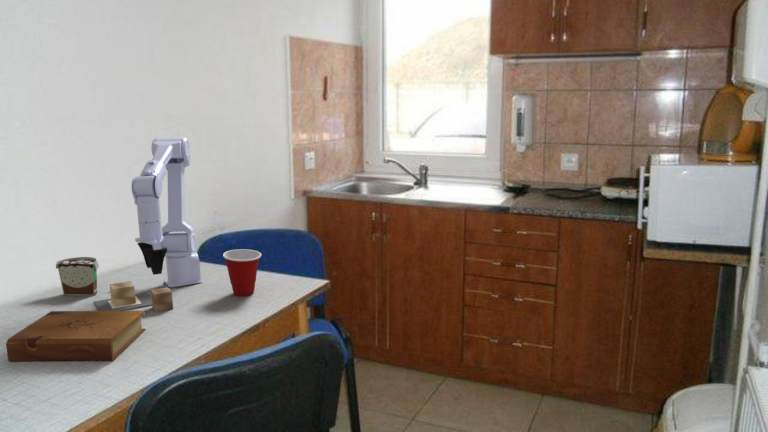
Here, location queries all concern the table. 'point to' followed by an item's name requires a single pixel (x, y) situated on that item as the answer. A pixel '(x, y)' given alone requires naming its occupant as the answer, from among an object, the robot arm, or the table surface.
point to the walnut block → (162, 299)
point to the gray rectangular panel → (107, 305)
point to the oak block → (122, 293)
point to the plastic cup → (242, 270)
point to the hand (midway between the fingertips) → (154, 270)
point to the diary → (76, 336)
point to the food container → (78, 275)
